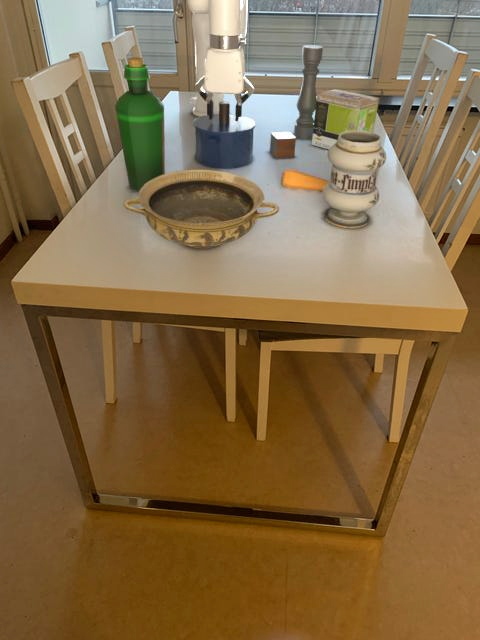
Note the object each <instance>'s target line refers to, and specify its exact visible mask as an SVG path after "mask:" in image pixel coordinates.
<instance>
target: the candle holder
mask: <svg viewBox="0 0 480 640" xmlns="http://www.w3.org/2000/svg"><path fill="white" fill-rule="evenodd" d="M323 51H324V46H322V45H317V44H305V45H302V52H301V59H302V62H301V63H302V64H303V67H302V69H301V73H302V84H301V88H300V93H299V95H298V98H297V102H296V109H297V111H298V117H297V118H296V119H295V122H296V123H294V129H293V136H294V137H296V139H298V140H312V137H313V128H314V119H315V118H314V117H313V115H314V113H315V110H316V101H317V89H316V85H317V76H318V74H319V73H320V69H318V67H319V66H320V63H321V61H322V58H323Z"/></svg>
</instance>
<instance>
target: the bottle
mask: <svg viewBox="0 0 480 640" xmlns="http://www.w3.org/2000/svg"><path fill="white" fill-rule="evenodd" d="M126 60H127V63H128V64H125V65H124V69H123V73H124V74H123V78H124V79H125V80H126V83H127V86H128V90H126V91H124V93H123V94H122V95H120V96H119V98H118V99H117V101H116V103H115V105H114V108H115V109H114V110H115V114H116V119H117V125H118V131H119V135H120V136H119V137H120V141H121V147H122V153H123V159H124V163H125V164H124V165H125V169H126V176H127V181H128V186H129V188H130V189H131V190H133V191H136V192H138V193H139V191H140V189H141V188H142V187H143V186H144V184H146V183H147V182H149V181H150V180H152V179H154V178H156V177H158V176H161V175H164V174H166V162H165V161H166V159H165V158H166V157H165V151H166V150H165V104H164V102H163V101H162V100H161V98H160V97H159V96H158V95H156V94H155V93H153V92H152V91H150V90H149V89H148V88H149V87H148V86H149V85H148V84H149V83H148V81H149V79H150V78H151V75H150V71H149V68H148V65H147V64H144V58H143V57H135V56H134V57H128V58H127V59H126Z"/></svg>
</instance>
